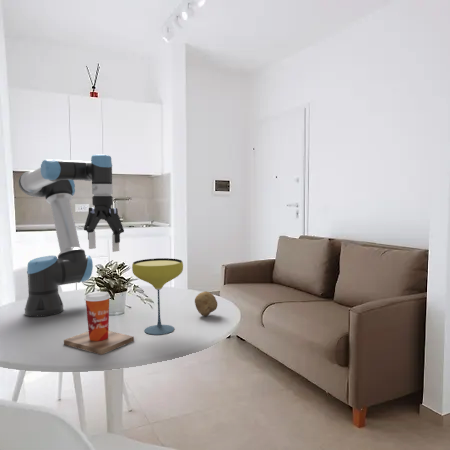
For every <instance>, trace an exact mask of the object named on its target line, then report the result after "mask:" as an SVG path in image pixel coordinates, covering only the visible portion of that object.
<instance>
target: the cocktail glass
mask: <svg viewBox="0 0 450 450" xmlns="http://www.w3.org/2000/svg"><path fill="white" fill-rule="evenodd" d="M131 269H132V274H133V275H134V276H135V277H136V278H138V279H140V280H141V281H143V282H146V283H148V284H150V285H151V286H152V287H154V289H155V290H156V291H157V324H155V325H151V326H150V325H149V326H147V327H145V328H144V330H143V331H144V333H145V334H147V335H152V336H153V335H154V336H162V335H167V334H170V333H173V332H174V331H175V327H174V326H172V325H170V324H162V320H161V305H160V304H161V300H160V290H161V289H163V288H164V286H165V285H166V284H167V283H168V282H170V281H172V280H174V279H176V278H178V277H179V276H180V275H181V274H182V273H183V271H184V263H183V261H182V260H181V259H177V258H167V257H166V258H164V257H163V258H147V259H140V260H136V261H134V262H132V266H131Z"/></svg>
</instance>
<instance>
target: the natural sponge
mask: <svg viewBox="0 0 450 450" xmlns="http://www.w3.org/2000/svg"><path fill="white" fill-rule="evenodd" d="M194 305H195V308H196V310H197V312H198V313H199V314H200V315H201V316H202V317H208V316H209V315H210V314H211V313H212V312H214V311H216V310H217V309H218V301H217V299H216V297H215V295H214V294H213V293H212V292H209V291H202V292H199V293H198V294H197V295H196V296H195V298H194Z"/></svg>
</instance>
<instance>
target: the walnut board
mask: <svg viewBox="0 0 450 450" xmlns="http://www.w3.org/2000/svg"><path fill="white" fill-rule="evenodd" d="M132 342H135V337H134V336H133V335H129V334H124V333H120V332H117V331H116V332H115V331H111V330H108V338H107V339H106V340H102V341H91V340H90V338H89V330H88V331H85V332H82V333H80V334H76V335H74V336H71V337H68V338H66V339H63V345H64V346H68V347H73V348H76V349H80V350H83V351H86V352H90V353H94V354H98V355H101V356H102V355H104V354H107V353H109V352H111V351H113V350H116V349H118V348H120V347H123V346H125V345H128V344H130V343H132Z"/></svg>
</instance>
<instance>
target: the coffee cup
mask: <svg viewBox="0 0 450 450" xmlns="http://www.w3.org/2000/svg"><path fill="white" fill-rule="evenodd" d="M111 297H112V296H110V294H109V292H108V291H92V292H88V293H87V294H85V297H84V301H85V307H86V309H85V310H86V317H87V319H86V320H87V329H88V331H89V338H90V340H91V341H102V340H106V339H107V338H108V331H110V330H109V327H110V326H109V325H110V298H111Z"/></svg>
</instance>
